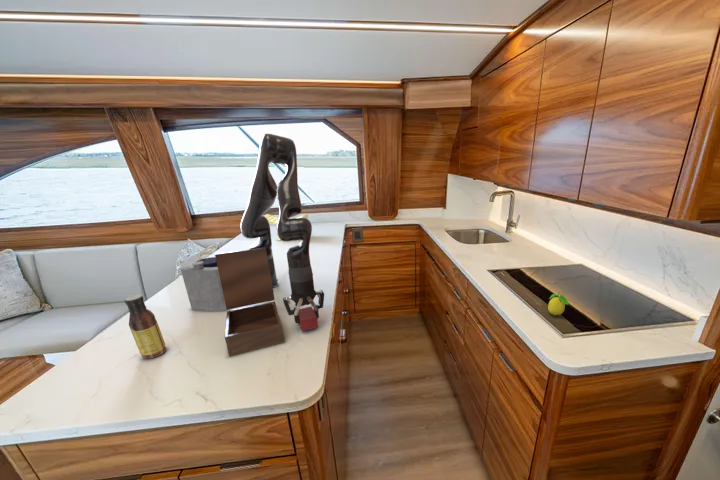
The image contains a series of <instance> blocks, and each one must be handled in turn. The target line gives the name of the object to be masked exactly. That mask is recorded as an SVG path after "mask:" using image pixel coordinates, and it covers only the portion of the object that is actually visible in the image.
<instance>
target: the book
mask: <svg viewBox="0 0 720 480" xmlns="http://www.w3.org/2000/svg"><path fill="white" fill-rule="evenodd" d="M313 309H314V308H313V307H312V305H310V306H306V307H303V308H302V307H301V308H300V310H299V312H298V315H299V322H300V324H299V327H300V330H301V332H304V331H307V330H312V329H315V328H318V327H319V323H318V322H319V321H318V320H317V319H318V318H317V316H316V314H315V312H314V310H313Z"/></svg>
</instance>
